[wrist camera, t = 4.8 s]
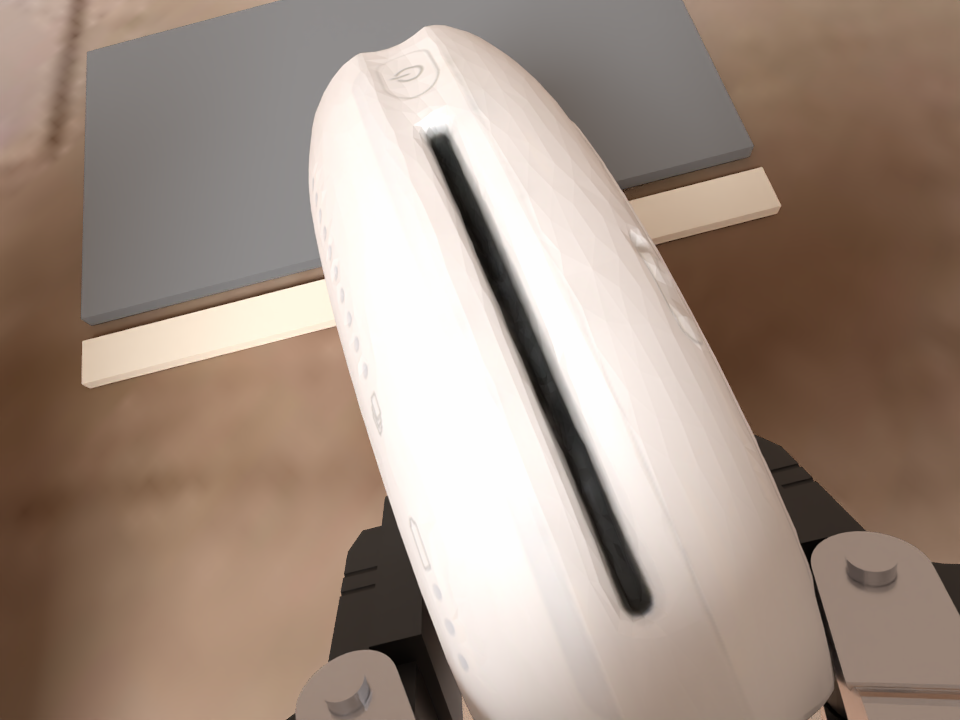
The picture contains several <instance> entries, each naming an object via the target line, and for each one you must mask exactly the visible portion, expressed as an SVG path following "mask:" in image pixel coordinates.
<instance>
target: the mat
mask: <svg viewBox="0 0 960 720" xmlns="http://www.w3.org/2000/svg"><path fill="white" fill-rule="evenodd" d="M431 25H445V26H449V27H452V28H456V29H459V30H463V31H467V32H469V33H471V34H474V35H476V36H478V37H480V38H482V39H483V40H485V41H486V42H488V43H490V44H491V45H493V46H494V47H496V48H498V49H499V50H501V51H502V52H503V53H505V54H506V55H508V56H509V57H510V58H512V59H513V60H514V61H516V62H517V63H518V64H519V65H520V66H521V67H523V68H524V69H525V70H526V71H527V72H528V73H529V74H530V75H532V76H533V77H534V78H535V79H536V80H537V81H538V82H539V83H540V84H541V85H542V86H543V88H544V89H545V90H546V91H547V92H548V93H549V94H550V95H551V96H552V97H553V98H554V100H555V101H556V102H557V103H558V105H559V106H560V107H561V108H562V110H563V111H564V112H565V114H566V115H567V116H568V118H569V119H570V120H571V121H572V122H574V123H575V124H576V125H577V127H578V128H579V129H580V130H581V132H582V133H583V134H584V136H585V137H586V138H587V140H588V141H589V142H590V144H591V145H592V147H593V148H594V149H595V151H596V152H597V154H598V155H599V156H600V158H601V159H602V161H603V162H604V164H605V165H606V167H607V169H608V170H609V172H610V173H611V175H612V176H613V178H614V179H615V181H616V182H617V184H618V185H619V187H620V189H625V188H629V187H633V186H637V185H641V184H645V183H649V182H653V181H657V180H660V179H664V178H668V177H672V176H676V175H680V174H684V173H688V172H692V171H695V170H699V169H703V168H707V167H711V166H715V165H719V164H723V163H727V162H731V161H734V160H738V159H742V158H746V157H750V155H751V152H752V150H753V147H754V145H753V143H752V141H751V139H750V137H749V135H748V133H747V131H746V129H745V127H744V125H743V123H742V121H741V119H740V117H739V115H738V113H737V111H736V109H735V107H734V105H733V103H732V101H731V98H730V96H729V94H728V92H727V90H726V88H725V86H724V84H723V82H722V80H721V78H720V76H719V74H718V72H717V70H716V68H715V66H714V64H713V62H712V60H711V58H710V56H709V54H708V52H707V50H706V48H705V46H704V44H703V42H702V40H701V37H700V35H699V33H698V31H697V29H696V27H695V25H694V23H693V21H692V19H691V17H690V15H689V13H688V11H687V9H686V7H685V5H684V3H683V1H682V0H280V1H276V2H272V3H268V4H265V5H261V6H257V7H253V8H250V9H246V10H242V11H238V12H235V13H231V14H227V15H223V16H220V17H216V18H212V19H208V20H205V21H201V22H197V23H193V24H190V25H186V26H182V27H178V28H175V29H171V30H167V31H164V32H160V33H156V34H152V35H149V36H145V37H141V38H137V39H134V40H130V41H126V42H122V43H119V44H115V45H111V46H107V47H104V48H100V49H96V50H92V51H89V52H87V75H86V118H85V161H84V204H83V247H82V290H81V320H83V321H85V322H86V323H88V324H89V325H91V326H92V325H96V324H100V323H103V322H107V321H111V320H115V319H119V318H123V317H127V316H131V315H135V314H139V313H142V312H146V311H150V310H154V309H158V308H162V307H166V306H170V305H174V304H177V303H181V302H185V301H189V300H193V299H197V298H201V297H205V296H209V295H213V294H216V293H220V292H224V291H228V290H232V289H236V288H240V287H244V286H248V285H251V284H255V283H259V282H263V281H267V280H271V279H275V278H279V277H283V276H287V275H290V274H294V273H298V272H302V271H306V270H310V269H314V268H318V267H322V263H321V259H320V255H319V250H318V245H317V240H316V235H315V230H314V224H313V218H312V212H311V205H310V195H309V154H310V144H311V136H312V126H313V122H314V117H315V113H316V111H317V108H318V106H319V103H320V101H321V98H322V96H323V93H324V92H325V90H326V88H327V87H328V85H329V83H330V81H331V80H332V78H333V77H334V76H335V74H336V73H337V72H338V71H339V69H340V68H341V67H342V66H343V65H344V64H345V63H346V62H348V61H349V60H350V59H352V58H353V57H354V56H356V55H357V54H359V53H367V52H377V51H381V50H385V49H389V48H391V47H394V46H396V45H399V44H401V43H402V42H404V41H406V40H407V39H409V38H410V37H412V36H413V35H415V34H416V33H417V32H418V31H420V30H421V29H422V28H423V27H426V26H431ZM629 202H630V204H631V205H632V207H633V209H634V212H635V213H636V215H637V216H638V218H639V219H640V221H641V223H642V224H643V226H644V228H645V229H646V231H647V232H648V234H649V236H650V237H651V239H652V241H653V243H654V244H655V245H656V244H660V243H664V242H667V241H671V240H675V239H679V238H683V237H687V236H691V235H695V234H699V233H703V232H707V231H711V230H715V229H719V228H722V227H726V226H730V225H734V224H738V223H742V222H746V221H750V220H754V219H758V218H762V217H766V216H770V215H774V214H777V213H778V211H779V209H780V207H781V204H780V202H779V200H778V198H777V196H776V194H775V192H774V190H773V188H772V186H771V184H770V182H769V180H768V178H767V176H766V174H765V172H764V169H763V167H760V168H756V169H752V170H748V171H744V172H740V173H736V174H732V175H728V176H725V177H721V178H717V179H713V180H709V181H705V182H701V183H697V184H693V185H689V186H686V187H682V188H678V189H674V190H670V191H666V192H662V193H658V194H654V195H650V196H646V197H643V198H639V199H635V200H631V201H629ZM333 326H337V325H336V322H335V318H334V314H333V310H332V306H331V302H330V298H329V294H328V290H327V286H326V281H325V279H323V280H319V281H315V282H311V283H307V284H303V285H299V286H295V287H291V288H288V289H284V290H280V291H276V292H272V293H268V294H264V295H260V296H256V297H252V298H248V299H245V300H241V301H237V302H233V303H229V304H225V305H221V306H217V307H213V308H209V309H206V310H202V311H198V312H194V313H190V314H186V315H182V316H178V317H174V318H170V319H167V320H163V321H159V322H155V323H151V324H147V325H143V326H139V327H135V328H131V329H128V330H124V331H120V332H116V333H112V334H108V335H104V336H100V337H96V338H92V339H88V340H85V341H82V385H84V386H86V387H88V388H94V387H98V386H101V385H105V384H109V383H113V382H117V381H121V380H125V379H129V378H133V377H137V376H141V375H145V374H149V373H153V372H156V371H160V370H164V369H168V368H172V367H176V366H180V365H184V364H188V363H192V362H196V361H200V360H204V359H208V358H212V357H215V356H219V355H223V354H227V353H231V352H235V351H239V350H243V349H247V348H251V347H255V346H259V345H263V344H267V343H270V342H274V341H278V340H282V339H286V338H290V337H294V336H298V335H302V334H306V333H310V332H314V331H318V330H322V329H325V328H329V327H333Z"/></svg>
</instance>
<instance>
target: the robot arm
mask: <svg viewBox="0 0 960 720" xmlns="http://www.w3.org/2000/svg"><path fill="white" fill-rule="evenodd" d="M754 436H755V438H756V441H757V443H758V446H759V448H760V451H761V453H762V455H763V457H764V459H765V461H766V463H767V465H768V468H769V470H770V472H771V474H772V476H773V479H774V481H775V483H776V486H777V488H778V491H779V493H780V495H781V498H782V500H783V502H784V505H785V507H786V509H787V511H788V514H789V516H790V518H791V520H792V522H793V525H794V527H795V529H796V532H797V535H798V539H799V542H800V545H801V547H802V549H803V552H804V554H805V556H806V558H807V561H808V564H809V567H810V570H811V574H812V577H813V584H814V591H815V597H816V601H817V604H818V608H819V612H820V615H821V619H822V623H823V627H824V631H825V635H826V639H827V644H828V648H829V652H830V657H831V662H832V667H833V672H834V677H835V682H834V691H833V692H832V694H831V695H830V697H829V698H828V700H827V701H826V703H825V704H824V705H823V706H822V707H821V708H820V713H821V718H822V720H960V564H941V563H934V562H931V561H930V560H929V558H928V557H927V556H926V555H925V554H924V553H923V552H921V551H920V550H919V549H917V548H916V547H915V546H913V545H911V544H909V543H907V542H905V541H903V540H901V539H898V538H896V537H893V536H889V535H886V534H881V533H876V532H867V531H865V530H864V529H863V528H862V527H861V526H860V525H859V524H858V523H857V522H856V521H855V520H854V519H853V518H852V517H851V516H850V515H849V514H848V513H847V512H846V511H845V510H844V509H843V508H842V507H841V506H840V505H839V504H838V503H837V502H836V501H835V500H834V499H833V498H832V497H831V496H830V495H829V494H828V493H827V492H826V491H825V490H824V489H823V488H822V487H821V486H820V485H819V484H818V483H817V482H816V481H815V482H814V481H813V478H812V477H811V476H810V475H809V474H808V473H807V472H806V471H805V470H804V469H803V468H802V467H799V465H798V463H797V462H796V461H795V460H794V459H793V458H792V457H791V456H790V455H789V454H788V453H787V452H786V451H785V450H784V449H783V448H782V447H781V446H779V445H777V444H775V443H772V442H770V441H768V440H766V439H763V438H761V437H759V436H757V435H754ZM344 575H345V578H343V583H342V588H341V595H342V596H341V597H340V600H339V605H338V611H337V616H336V622H335V627H334V633H333V639H332V644H331V650H330V655H329V661H328V663H327V664H325V665H324V666H322V667H321V668H320V669H319V670H318V671H317V672H316V673H315V674H314V675H313V676H312V677H311V678H310V679H309V680H308V682H307V683H306V685H305V686H304V687H303V689H302V691H301V693H300V695H299V698H298V701H297V704H296V710H295V714H293V715H292V716H291V717H289V718H288V719H287V720H463V714H462V695H461V692H460V689H459V687H458V685H457V683H456V680H455V678H454V676H453V673H452V671H451V669H450V666H449V664H448V662H447V659H446V657H445V654H444V651H443V649H442V646H441V643H440V641H439V638H438V635H437V633H436V630H435V627H434V625H433V622H432V619H431V617H430V614H429V612H428V609H427V606H426V604H425V601H424V599H423V596H422V593H421V591H420V588H419V585H418V582H417V579H416V576H415V574H414V571H413V568H412V565H411V562H410V559H409V557H408V554H407V551H406V548H405V545H404V542H403V540H402V537H401V534H400V531H399V528H398V525H397V522H396V519H395V516H394V513H393V510H392V507H391V504H390V501H389V498H388V496H386V497H385V502H384V511H383V520H382V526H379V527H375V528H371V529H367V530H363V531H362V532H361V534H360V535H359V537H358V538H357V540H356V541H355V543H354V544H353V545H352V547H351V548H350V550H349V551H348V555H347V560H346V566H345V572H344Z"/></svg>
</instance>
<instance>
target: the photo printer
mask: <svg viewBox="0 0 960 720" xmlns="http://www.w3.org/2000/svg"><path fill="white" fill-rule="evenodd" d="M309 195H310V205H311V212H312V218H313V224H314V230H315V235H316V240H317V245H318V250H319V255H320V259H321V263H322V268H323V272H324V277H325V281H326V286H327V290H328V294H329V298H330V302H331V306H332V310H333V314H334V318H335V322H336V325H337V329H338V333H339V336H340V340H341V344H342V347H343V351H344V354H345V358H346V362H347V365H348V369H349V372H350V376H351V379H352V382H353V385H354V389H355V392H356V396H357V399H358V403H359V407H360V410H361V413H362V416H363V419H364V422H365V425H366V428H367V432H368V436H369V439H370V442H371V445H372V448H373V451H374V455H375V458H376V461H377V464H378V467H379V470H380V474H381V477H382V480H383V483H384V486H385V489H386V492H387V495H388V498H389V501H390V504H391V507H392V510H393V513H394V516H395V519H396V522H397V525H398V528H399V531H400V534H401V537H402V540H403V542H404V545H405V548H406V551H407V554H408V557H409V559H410V562H411V565H412V568H413V571H414V574H415V576H416V579H417V582H418V585H419V588H420V591H421V593H422V596H423V599H424V601H425V604H426V606H427V609H428V612H429V614H430V617H431V619H432V622H433V625H434V627H435V630H436V633H437V635H438V638H439V641H440V643H441V646H442V649H443V651H444V654H445V657H446V659H447V662H448V664H449V666H450V669H451V671H452V673H453V676H454V678H455V680H456V683H457V685H458V687H459V689H460V692H461V694H462V696H463V698H464V701H465V703H466V705H467V707H468V709H469V711H470V713H471V715H472V717H473V719H474V720H808V719H809V718H810V717H811V716H812V715H813V714H815V713H816V712H817V711H818V710H819V709H820V708H821V707H822V706H823V705H824V704H825V703H826V701H827V700H828V698H829V697H830V695H831V694H832V692H833V691H834V682H835V677H834V672H833V667H832V662H831V657H830V652H829V648H828V644H827V639H826V635H825V631H824V627H823V623H822V619H821V615H820V612H819V608H818V604H817V601H816V597H815V591H814V584H813V577H812V574H811V570H810V567H809V564H808V561H807V558H806V556H805V554H804V552H803V549H802V547H801V545H800V542H799V539H798V535H797V532H796V529H795V527H794V525H793V522H792V520H791V518H790V516H789V514H788V511H787V509H786V507H785V505H784V502H783V500H782V498H781V495H780V493H779V491H778V488H777V486H776V483H775V481H774V479H773V476H772V474H771V472H770V470H769V468H768V465H767V463H766V461H765V459H764V457H763V455H762V453H761V451H760V448H759V446H758V443H757V441H756V438H755V436H754V434H753V432H752V430H751V428H750V426H749V424H748V422H747V420H746V418H745V416H744V414H743V412H742V410H741V408H740V406H739V404H738V402H737V400H736V398H735V396H734V394H733V392H732V390H731V387H730V385H729V383H728V381H727V379H726V377H725V375H724V373H723V371H722V369H721V367H720V365H719V363H718V361H717V359H716V357H715V355H714V353H713V351H712V350H711V348H710V346H709V344H708V342H707V340H706V338H705V336H704V335H703V333H702V331H701V329H700V327H699V325H698V323H697V321H696V319H695V317H694V315H693V314H692V312H691V310H690V308H689V306H688V304H687V302H686V301H685V299H684V297H683V295H682V293H681V291H680V290H679V288H678V286H677V284H676V282H675V280H674V279H673V277H672V275H671V273H670V271H669V269H668V267H667V266H666V264H665V262H664V260H663V258H662V256H661V255H660V253H659V251H658V249H657V248H656V246H655V244H654V243H653V241H652V239H651V237H650V236H649V234H648V232H647V231H646V229H645V228H644V226H643V224H642V223H641V221H640V219H639V218H638V216H637V215H636V213H635V212H634V209H633V207H632V205H631V204H630V202H629V201H628V200H627V198H626V196H625V194H624V193H623V191H622V190H621V189H620V187H619V185H618V184H617V182H616V181H615V179H614V178H613V176H612V175H611V173H610V172H609V170H608V169H607V167H606V165H605V164H604V162H603V161H602V159H601V158H600V156H599V155H598V154H597V152H596V151H595V149H594V148H593V147H592V145H591V144H590V142H589V141H588V140H587V138H586V137H585V136H584V134H583V133H582V132H581V130H580V129H579V128H578V127H577V125H576V124H575V123H574V122H572V121H571V120H570V119H569V118H568V116H567V115H566V114H565V112H564V111H563V110H562V108H561V107H560V106H559V105H558V103H557V102H556V101H555V100H554V98H553V97H552V96H551V95H550V94H549V93H548V92H547V91H546V90H545V89H544V88H543V86H542V85H541V84H540V83H539V82H538V81H537V80H536V79H535V78H534V77H533V76H532V75H530V74H529V73H528V72H527V71H526V70H525V69H524V68H523V67H521V66H520V65H519V64H518V63H517V62H516V61H514V60H513V59H512V58H510V57H509V56H508V55H506V54H505V53H503V52H502V51H501V50H499V49H498V48H496V47H494V46H493V45H491V44H490V43H488V42H486V41H485V40H483V39H482V38H480V37H478V36H476V35H474V34H471V33H469V32H467V31H463V30H459V29H456V28H452V27H449V26H445V25H431V26H426V27H423V28H422V29H421V30H420V31H418V32H417V33H416V34H415V35H413V36H412V37H410V38H409V39H407V40H406V41H404V42H402V43H401V44H399V45H396V46H394V47H391V48H389V49H385V50H381V51H377V52H367V53H359V54H357V55H356V56H354V57H353V58H352V59H350V60H349V61H348V62H346V63H345V64H344V65H343V66H342V67H341V68H340V69H339V71H338V72H337V73H336V74H335V76H334V77H333V78H332V80H331V81H330V83H329V85H328V87H327V88H326V90H325V92H324V93H323V96H322V98H321V101H320V103H319V106H318V108H317V111H316V113H315V117H314V122H313V126H312V136H311V144H310V154H309Z"/></svg>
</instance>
